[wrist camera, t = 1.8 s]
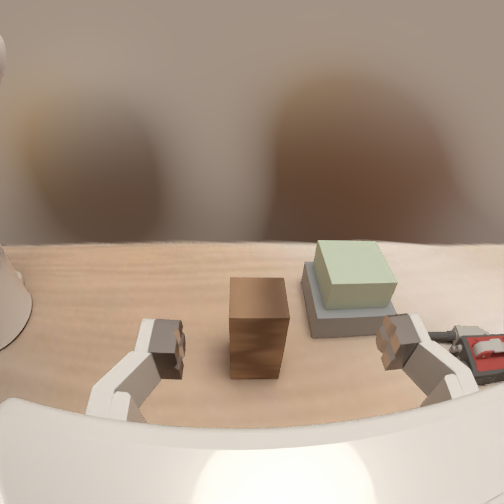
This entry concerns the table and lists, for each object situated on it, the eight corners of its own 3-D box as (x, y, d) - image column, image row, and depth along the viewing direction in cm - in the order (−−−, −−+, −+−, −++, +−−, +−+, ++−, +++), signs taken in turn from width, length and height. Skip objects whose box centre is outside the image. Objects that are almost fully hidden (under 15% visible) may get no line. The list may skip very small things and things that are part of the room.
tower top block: (325, 309, 36) (332, 284, 33) (312, 265, 42) (317, 240, 39) (387, 307, 36) (397, 282, 34) (368, 265, 42) (375, 241, 40)
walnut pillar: (230, 379, 32) (229, 318, 26) (231, 342, 36) (230, 277, 30) (278, 378, 32) (289, 317, 26) (274, 342, 36) (283, 277, 30)
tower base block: (311, 340, 37) (317, 318, 34) (300, 283, 45) (304, 261, 42) (386, 336, 37) (397, 315, 35) (366, 283, 45) (373, 262, 43)
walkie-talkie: (505, 333, 36) (399, 335, 37) (519, 313, 33) (411, 312, 34) (524, 379, 29) (412, 394, 30) (541, 360, 26) (428, 373, 27)
